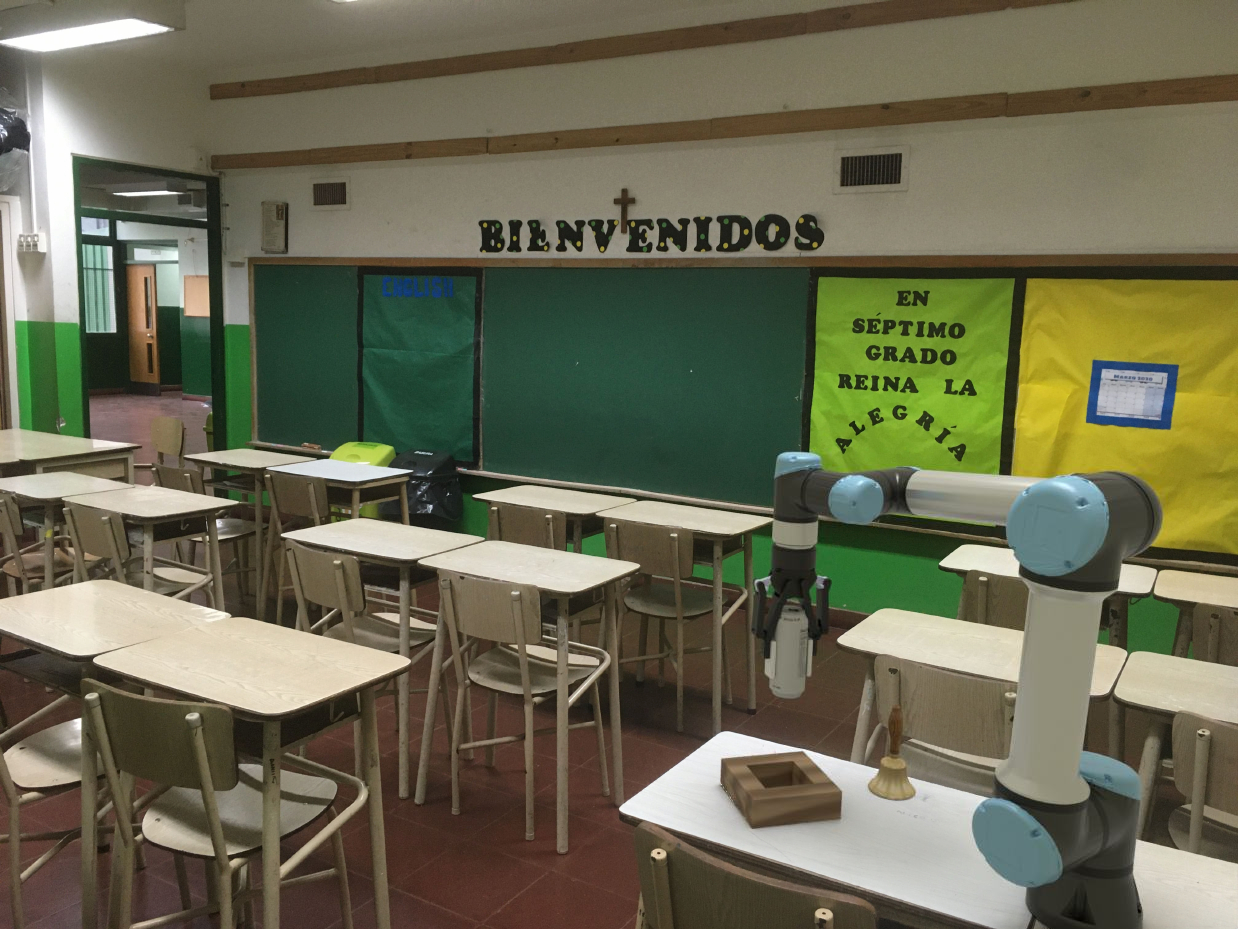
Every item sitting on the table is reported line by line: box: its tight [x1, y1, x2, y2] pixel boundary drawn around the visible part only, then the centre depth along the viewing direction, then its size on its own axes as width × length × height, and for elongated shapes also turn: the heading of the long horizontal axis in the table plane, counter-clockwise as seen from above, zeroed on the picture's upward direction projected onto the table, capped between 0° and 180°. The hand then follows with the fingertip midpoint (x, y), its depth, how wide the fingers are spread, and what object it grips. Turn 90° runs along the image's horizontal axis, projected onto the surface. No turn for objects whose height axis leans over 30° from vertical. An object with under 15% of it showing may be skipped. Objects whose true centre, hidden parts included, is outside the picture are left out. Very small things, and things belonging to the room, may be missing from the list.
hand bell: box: [867, 704, 917, 801], centre depth 175 cm, size 8×8×16 cm
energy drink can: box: [768, 604, 808, 699], centre depth 167 cm, size 6×6×15 cm
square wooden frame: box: [719, 750, 843, 829], centre depth 170 cm, size 16×16×5 cm
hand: (787, 674), depth 167 cm, fingers closed on energy drink can, 6 cm apart
